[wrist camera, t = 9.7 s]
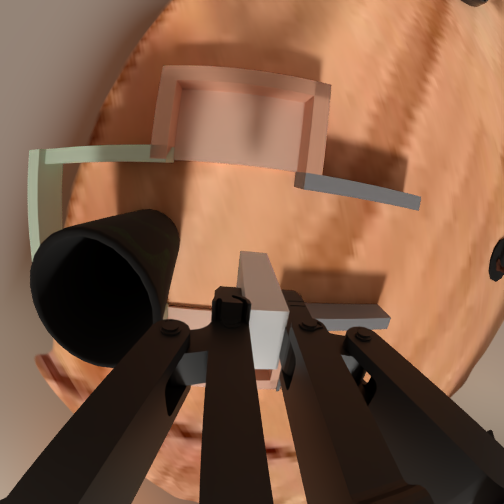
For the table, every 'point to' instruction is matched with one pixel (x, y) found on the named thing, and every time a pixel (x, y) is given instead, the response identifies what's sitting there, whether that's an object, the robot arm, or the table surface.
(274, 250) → the table surface
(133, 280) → the cup
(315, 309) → the track
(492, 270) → the figurine
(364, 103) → the table surface
